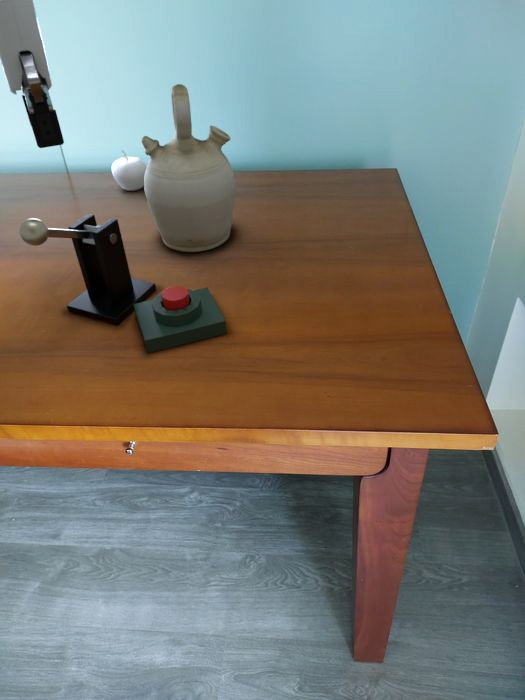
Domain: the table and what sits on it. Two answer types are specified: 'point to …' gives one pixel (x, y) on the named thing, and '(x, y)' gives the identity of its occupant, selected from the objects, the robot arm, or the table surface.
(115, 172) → the plain white apple
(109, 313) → the bracket
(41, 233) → the lever
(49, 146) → the robot arm
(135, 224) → the table surface
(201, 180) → the jug
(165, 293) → the button
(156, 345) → the button box
